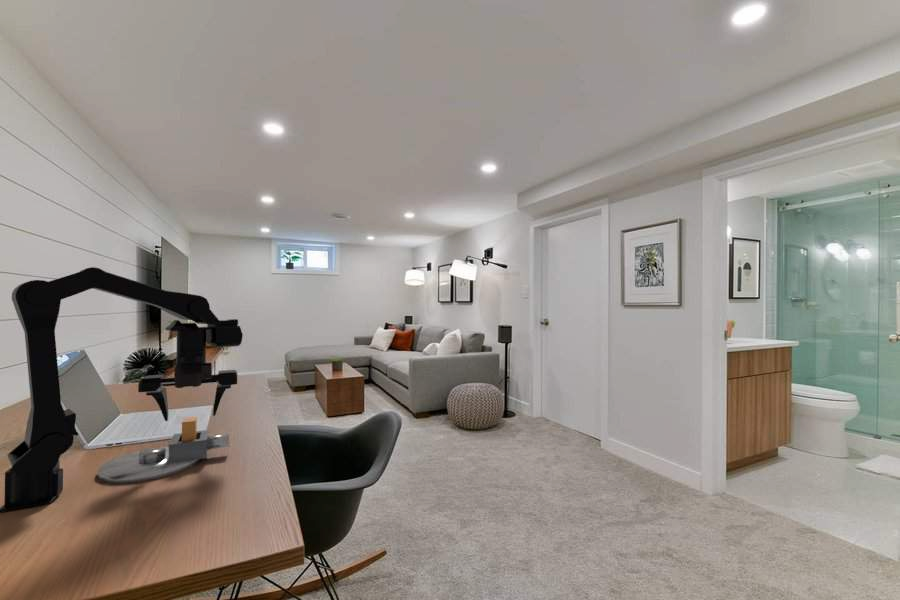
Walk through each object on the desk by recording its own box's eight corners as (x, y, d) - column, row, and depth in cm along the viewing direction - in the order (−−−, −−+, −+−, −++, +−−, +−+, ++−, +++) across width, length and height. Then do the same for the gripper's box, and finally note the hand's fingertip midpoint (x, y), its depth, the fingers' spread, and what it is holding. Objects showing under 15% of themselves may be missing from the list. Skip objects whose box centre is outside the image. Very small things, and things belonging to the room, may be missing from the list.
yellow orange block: (181, 458, 90) (181, 422, 90) (183, 452, 93) (183, 418, 93) (194, 456, 91) (195, 420, 91) (196, 451, 94) (196, 416, 94)
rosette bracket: (85, 490, 77) (85, 463, 77) (111, 459, 92) (111, 436, 93) (227, 467, 88) (228, 443, 88) (229, 442, 104) (229, 422, 104)
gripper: (132, 356, 81) (132, 433, 81) (237, 350, 90) (237, 421, 90) (143, 350, 91) (143, 420, 91) (237, 346, 100) (236, 409, 99)
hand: (191, 417), depth 92 cm, fingers open, 9 cm apart
